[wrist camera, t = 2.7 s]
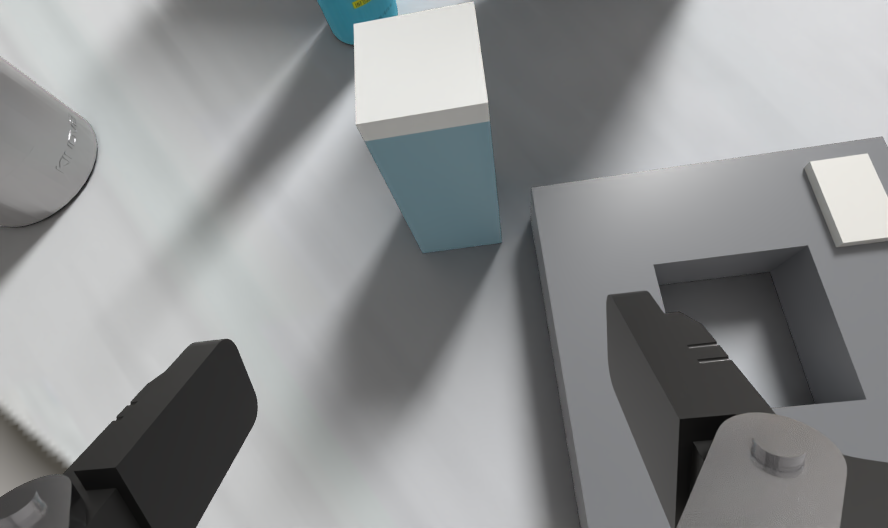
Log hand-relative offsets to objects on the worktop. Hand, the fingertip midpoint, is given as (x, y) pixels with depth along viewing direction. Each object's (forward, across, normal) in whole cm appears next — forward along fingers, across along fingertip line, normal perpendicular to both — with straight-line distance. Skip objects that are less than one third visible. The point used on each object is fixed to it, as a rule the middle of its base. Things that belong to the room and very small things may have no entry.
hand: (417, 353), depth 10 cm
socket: (+12, -12, +9) cm, 19 cm away
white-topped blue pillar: (+18, 0, +3) cm, 18 cm away
